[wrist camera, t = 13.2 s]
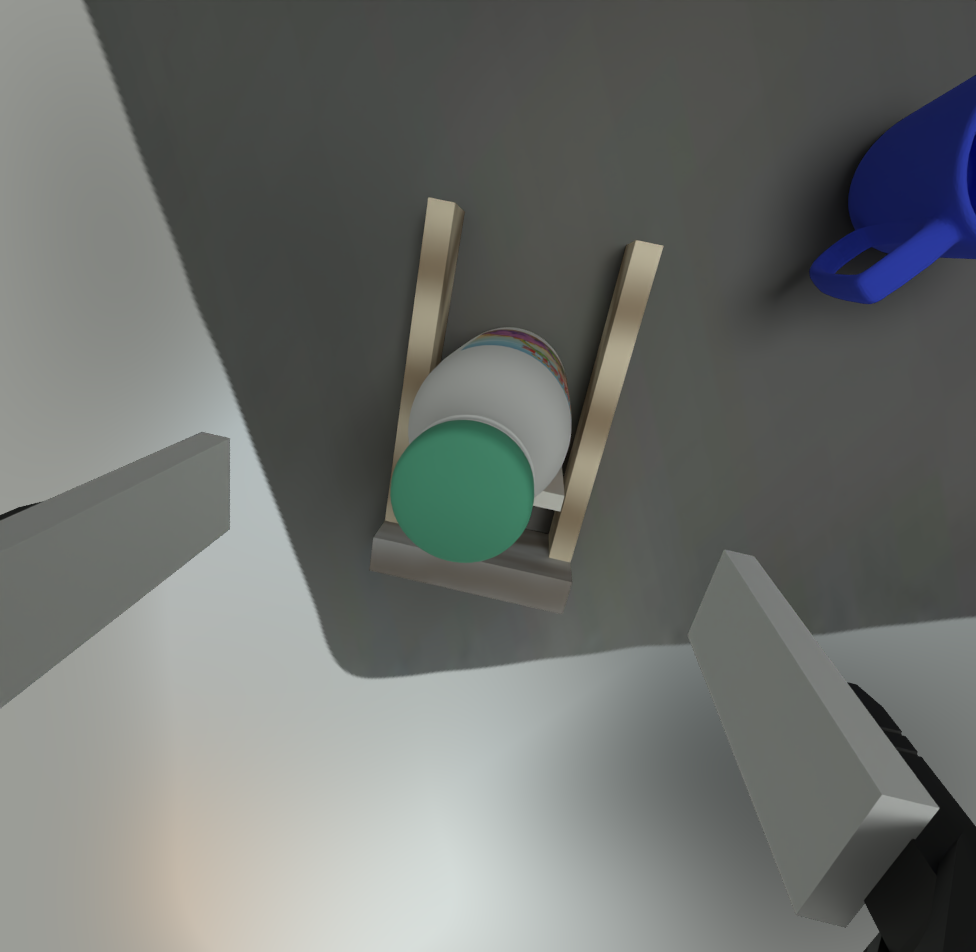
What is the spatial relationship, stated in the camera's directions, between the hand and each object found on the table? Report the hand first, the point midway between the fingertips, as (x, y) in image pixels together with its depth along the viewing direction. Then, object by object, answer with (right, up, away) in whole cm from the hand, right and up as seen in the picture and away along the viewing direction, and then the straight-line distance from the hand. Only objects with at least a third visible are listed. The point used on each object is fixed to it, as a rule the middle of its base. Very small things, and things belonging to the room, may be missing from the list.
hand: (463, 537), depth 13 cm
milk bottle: (+2, +8, +21) cm, 23 cm away
